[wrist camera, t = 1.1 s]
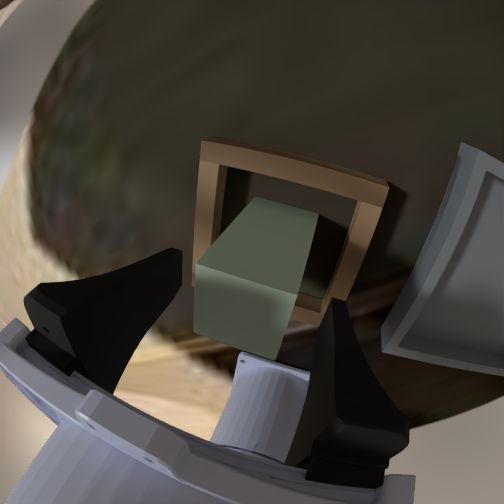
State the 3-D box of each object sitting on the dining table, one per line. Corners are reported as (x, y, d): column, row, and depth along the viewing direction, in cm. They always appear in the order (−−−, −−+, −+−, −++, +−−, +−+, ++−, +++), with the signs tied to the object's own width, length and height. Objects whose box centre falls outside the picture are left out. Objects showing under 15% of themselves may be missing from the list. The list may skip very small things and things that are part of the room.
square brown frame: (333, 316, 20) (331, 330, 19) (200, 274, 22) (191, 285, 21) (385, 180, 15) (389, 187, 13) (212, 136, 16) (201, 140, 15)
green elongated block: (303, 268, 19) (274, 360, 12) (246, 251, 20) (193, 332, 13) (318, 213, 17) (297, 295, 10) (255, 196, 18) (195, 263, 11)
